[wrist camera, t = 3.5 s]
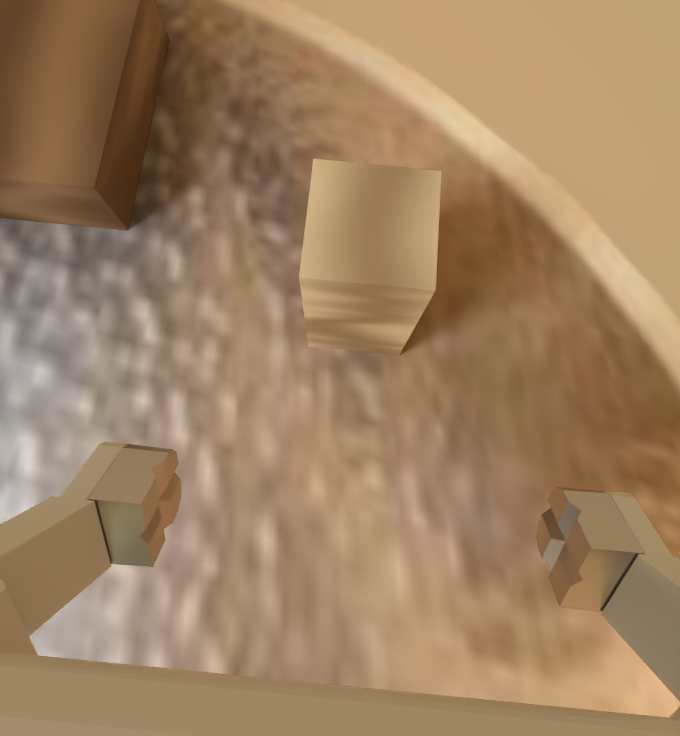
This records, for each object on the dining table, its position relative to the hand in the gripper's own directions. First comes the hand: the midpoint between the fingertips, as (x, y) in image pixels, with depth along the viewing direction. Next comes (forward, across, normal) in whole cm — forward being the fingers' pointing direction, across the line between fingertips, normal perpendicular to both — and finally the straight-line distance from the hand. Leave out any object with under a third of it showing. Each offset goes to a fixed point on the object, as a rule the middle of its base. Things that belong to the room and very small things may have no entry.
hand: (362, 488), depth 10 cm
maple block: (+14, 0, +2) cm, 14 cm away
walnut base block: (+21, +18, -4) cm, 28 cm away
